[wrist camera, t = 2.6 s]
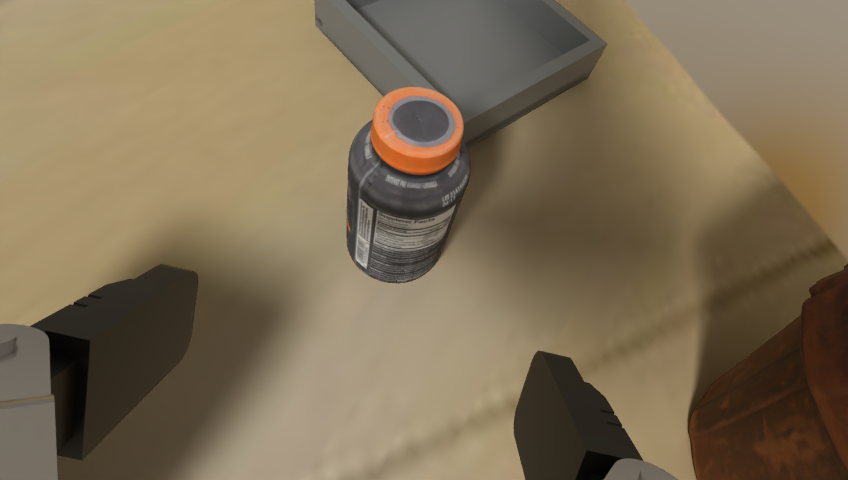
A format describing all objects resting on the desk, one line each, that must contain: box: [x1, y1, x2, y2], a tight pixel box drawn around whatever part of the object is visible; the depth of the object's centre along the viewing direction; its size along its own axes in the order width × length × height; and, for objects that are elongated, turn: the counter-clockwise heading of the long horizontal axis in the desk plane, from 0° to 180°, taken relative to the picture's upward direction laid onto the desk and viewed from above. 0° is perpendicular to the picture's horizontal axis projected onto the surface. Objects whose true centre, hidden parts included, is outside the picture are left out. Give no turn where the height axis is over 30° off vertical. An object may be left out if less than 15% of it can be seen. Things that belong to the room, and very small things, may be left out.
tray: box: [315, 0, 607, 149], centre depth 39 cm, size 16×16×4 cm
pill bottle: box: [347, 87, 471, 283], centre depth 26 cm, size 6×6×11 cm
